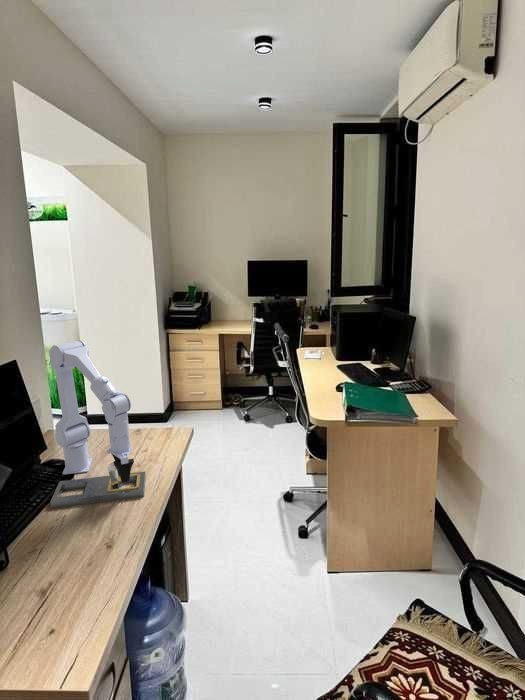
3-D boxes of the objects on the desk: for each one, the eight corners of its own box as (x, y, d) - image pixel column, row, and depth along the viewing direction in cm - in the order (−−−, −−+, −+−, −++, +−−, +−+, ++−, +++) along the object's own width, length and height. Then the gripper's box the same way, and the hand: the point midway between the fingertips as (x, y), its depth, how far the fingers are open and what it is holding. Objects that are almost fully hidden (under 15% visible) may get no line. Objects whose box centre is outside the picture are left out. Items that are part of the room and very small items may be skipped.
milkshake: (127, 493, 139) (123, 463, 137) (109, 494, 139) (105, 464, 137) (130, 485, 144) (126, 456, 141) (113, 487, 143) (109, 457, 141)
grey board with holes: (60, 487, 144) (59, 480, 144) (145, 477, 149) (145, 470, 149) (51, 508, 133) (50, 500, 132) (144, 496, 138) (143, 489, 137)
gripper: (102, 428, 143) (107, 468, 146) (108, 446, 130) (113, 489, 133) (125, 424, 146) (129, 463, 149) (133, 441, 133) (138, 484, 136)
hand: (123, 475), depth 141 cm, fingers open, 7 cm apart
